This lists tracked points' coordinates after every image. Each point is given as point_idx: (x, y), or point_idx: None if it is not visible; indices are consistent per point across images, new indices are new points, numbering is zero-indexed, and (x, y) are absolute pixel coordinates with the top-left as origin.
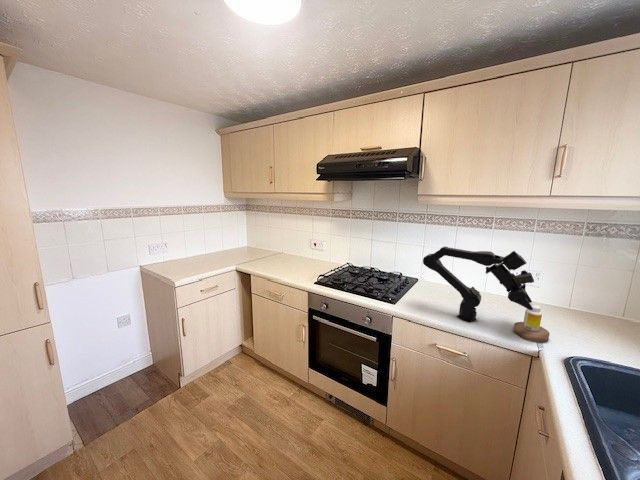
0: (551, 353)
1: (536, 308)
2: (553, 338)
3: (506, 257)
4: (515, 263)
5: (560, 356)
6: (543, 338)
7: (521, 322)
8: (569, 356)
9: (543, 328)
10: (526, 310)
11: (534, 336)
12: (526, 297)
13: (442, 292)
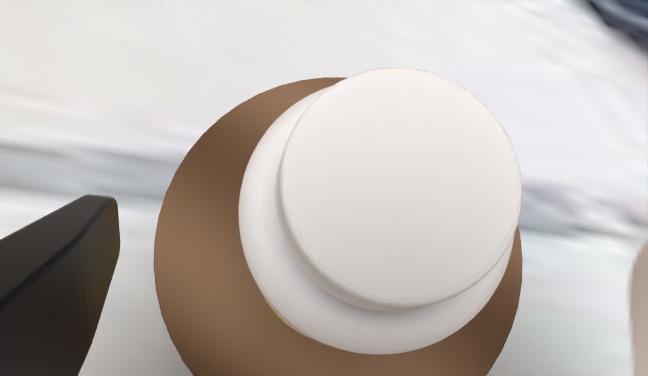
0: (633, 141)
1: (515, 163)
2: (280, 56)
3: None
4: None
5: (641, 84)
6: None
7: (193, 344)
8: (591, 18)
9: (246, 113)
10: (418, 345)
11: (514, 244)
12: (36, 346)
13: None
